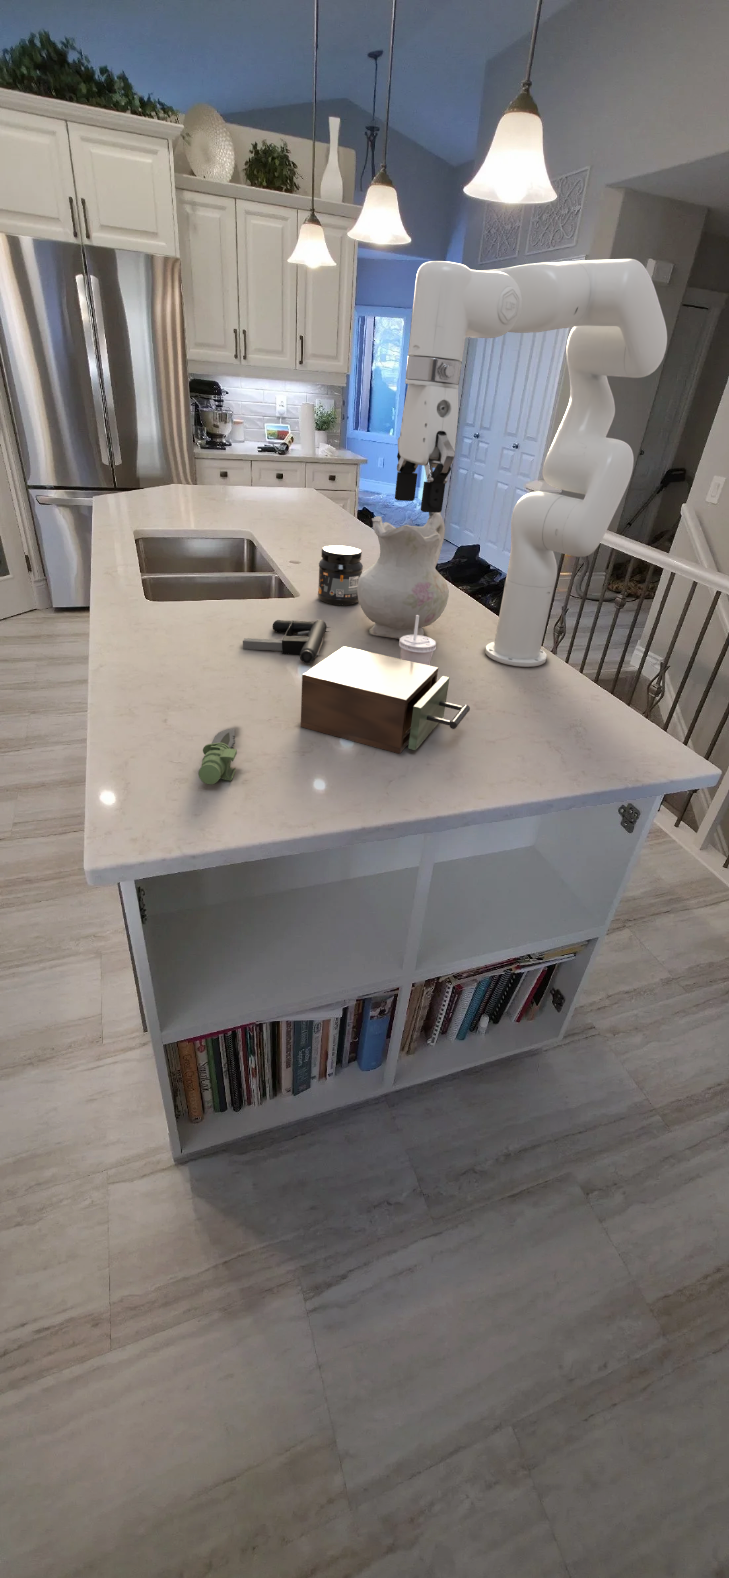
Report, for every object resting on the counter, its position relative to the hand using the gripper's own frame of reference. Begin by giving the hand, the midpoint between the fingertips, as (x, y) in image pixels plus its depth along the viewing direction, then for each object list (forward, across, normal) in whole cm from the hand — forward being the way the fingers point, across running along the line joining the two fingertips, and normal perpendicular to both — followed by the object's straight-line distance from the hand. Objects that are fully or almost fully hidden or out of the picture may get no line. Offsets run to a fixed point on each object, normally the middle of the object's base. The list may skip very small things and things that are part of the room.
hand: (417, 506), depth 103 cm
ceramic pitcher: (+31, +33, -15) cm, 48 cm away
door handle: (+32, +27, +12) cm, 44 cm away
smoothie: (+32, +1, -4) cm, 32 cm away
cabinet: (+32, -9, +8) cm, 34 cm away
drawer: (+31, -12, +4) cm, 33 cm away
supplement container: (+31, +56, -9) cm, 65 cm away
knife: (+32, -15, +33) cm, 48 cm away
